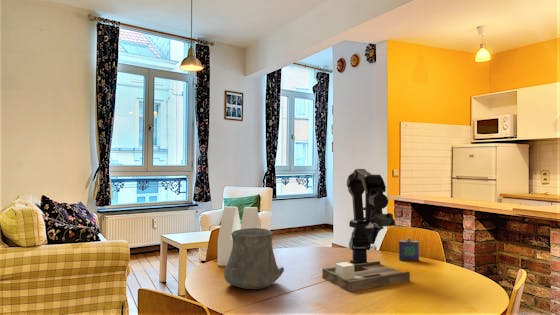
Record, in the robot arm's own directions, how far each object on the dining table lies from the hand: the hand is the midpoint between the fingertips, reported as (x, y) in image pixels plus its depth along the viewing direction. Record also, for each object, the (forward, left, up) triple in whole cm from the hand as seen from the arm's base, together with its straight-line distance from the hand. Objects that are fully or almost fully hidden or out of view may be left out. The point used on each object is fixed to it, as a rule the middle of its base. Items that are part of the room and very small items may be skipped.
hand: (372, 244), depth 149 cm
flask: (-12, +31, -13) cm, 36 cm away
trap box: (+3, -6, -13) cm, 14 cm away
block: (+3, -16, -10) cm, 19 cm away
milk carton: (-44, -41, -13) cm, 62 cm away
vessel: (-8, -48, -13) cm, 50 cm away
